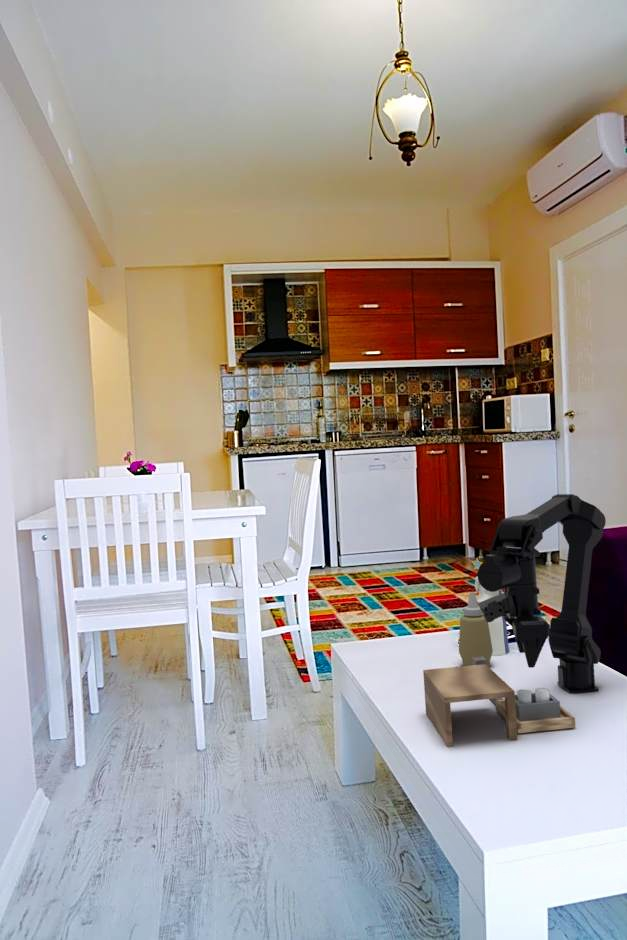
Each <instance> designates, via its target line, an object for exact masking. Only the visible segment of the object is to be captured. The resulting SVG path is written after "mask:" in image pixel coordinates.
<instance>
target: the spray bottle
mask: <svg viewBox="0 0 627 940" xmlns="http://www.w3.org/2000/svg"><path fill="white" fill-rule="evenodd" d="M471 563H472V564H473V565H474V567H473V570H479V567H480V566H481V564H482V563H483V562H481V561H479V559H478V557H476V559H475V560H472V561H471ZM474 580H475V582H474V588H475V591H476V592H478V597H477V598H476V599H477V603H478V604H479V603H480V602H482V601H484V600H487V599H489V598H492V597H494V596H497V595H500V594H503V593H502V591H503V589H501V590H498V591H494V592H490V591H487V590H485V589H484V588H483V587H482V586H481V584H480V583H479V580H478V576H476V577H475V578H474ZM488 625H489V631H490V637H491V643H492V649H493V652H492V656H504V655H506V654H507V655H508V654H509V653H510V647H509V639H508V637H509V636H508V627H507V626H508V625H507V621H506V620H505V619H504V618H503V616H501V617H499V618H496V619H494V621H492V622H488ZM492 656H491V657H492Z"/></svg>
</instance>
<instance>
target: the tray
mask: <svg viewBox="0 0 627 940" xmlns="http://www.w3.org/2000/svg"><path fill="white" fill-rule="evenodd" d="M516 693H517V694H515V709H516V718H517V719H518V720H519V721H528V720H538V719H548V718H558V717H561V715H560V706H561V702H560V700H558V699H557V698H556V697H555V696H553V695H552V694H551V693H550V689H549V688H546V687H537V688H535V689H534V692H532V691H531V690H530V689H526V688H525V689H518V690H516Z"/></svg>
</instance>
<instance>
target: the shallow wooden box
mask: <svg viewBox="0 0 627 940" xmlns="http://www.w3.org/2000/svg"><path fill="white" fill-rule="evenodd" d="M482 664H486V665H487V660H486V659H485V658H484V657H473V658H472V665H482ZM490 701H492V703H493V704H494V705H495V710H496V711H497V712H498V713H499V714H500V715H501V716H502V718H503V719H504V720H505V721H506V711H505V698H494V699H490ZM560 715H561V717H558V718H548V719H538V720H528V721H519V720H518V719H517V718H516V726H517V734H524V733H534V732H543V731H544V732H545V731H553V730H564V729H571V728H573V729H574V728H576V718H575V716H573V715H572V714H571V713H570V712H569V711H567V710H566V709H565V708H564V707H563V706H562V705H560Z"/></svg>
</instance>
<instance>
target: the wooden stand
mask: <svg viewBox="0 0 627 940" xmlns="http://www.w3.org/2000/svg"><path fill="white" fill-rule="evenodd" d="M422 671H423V673H422V674H423V687H424V689H423V691H424V701H425V702H424V703H425V714H426V716H427V717H428V719H429V720H430V722H431V724H432V726H433V727H434V728H435V730H436V731H437V733H438V735H439V736H440V738H441V740H442V741H443V743H444V744H445V745H446V747H447V748H451V747H454V744H453V743H454V742H453V726H452V725H453V724H452V710H451V703H452V704H453V703H462V702H463V703H464V702H471V701H483V700H491V699H494V698H503V699H504V700H505V711H506V720H505V724H506V738H507V739H508V740H509V741H518V733H517V726H516V709H515V695H516V694H515V690H514V689H513V688H512V687H511V686H510V685H508V684H507V683H506V681H504V679H502V678H501V677H500V676H499V675H498V674H496V673H495V671H493V670H492V669H491V668H490V667H489V666H487V665H486V664H482V665H472V666H464V665H462V666H453V667H452V666H450V667H442V668H432V669H430V668H429V669H423V670H422Z"/></svg>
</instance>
